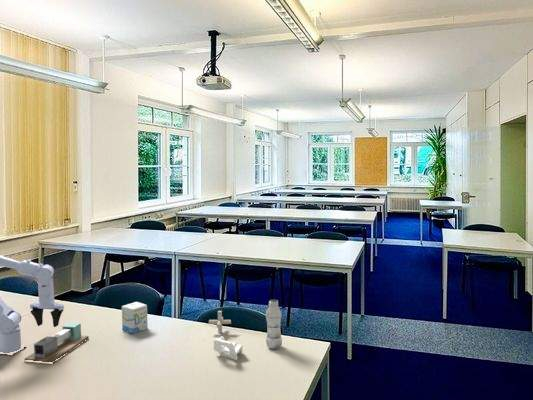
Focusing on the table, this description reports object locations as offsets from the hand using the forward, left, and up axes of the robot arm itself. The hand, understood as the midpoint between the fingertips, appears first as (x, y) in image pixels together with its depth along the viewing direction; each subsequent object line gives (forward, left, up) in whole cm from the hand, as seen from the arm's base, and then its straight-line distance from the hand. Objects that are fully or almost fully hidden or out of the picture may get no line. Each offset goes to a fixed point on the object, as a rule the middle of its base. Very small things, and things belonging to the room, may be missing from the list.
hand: (47, 325), depth 177 cm
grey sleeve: (+6, -9, -8) cm, 14 cm away
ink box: (+27, +24, -10) cm, 37 cm away
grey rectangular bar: (+6, +2, -6) cm, 9 cm away
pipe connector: (+68, +26, -10) cm, 73 cm away
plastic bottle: (+95, +14, -10) cm, 97 cm away
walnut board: (+6, -3, -9) cm, 12 cm away
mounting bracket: (+77, +4, -10) cm, 78 cm away
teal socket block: (+6, +7, -8) cm, 12 cm away
